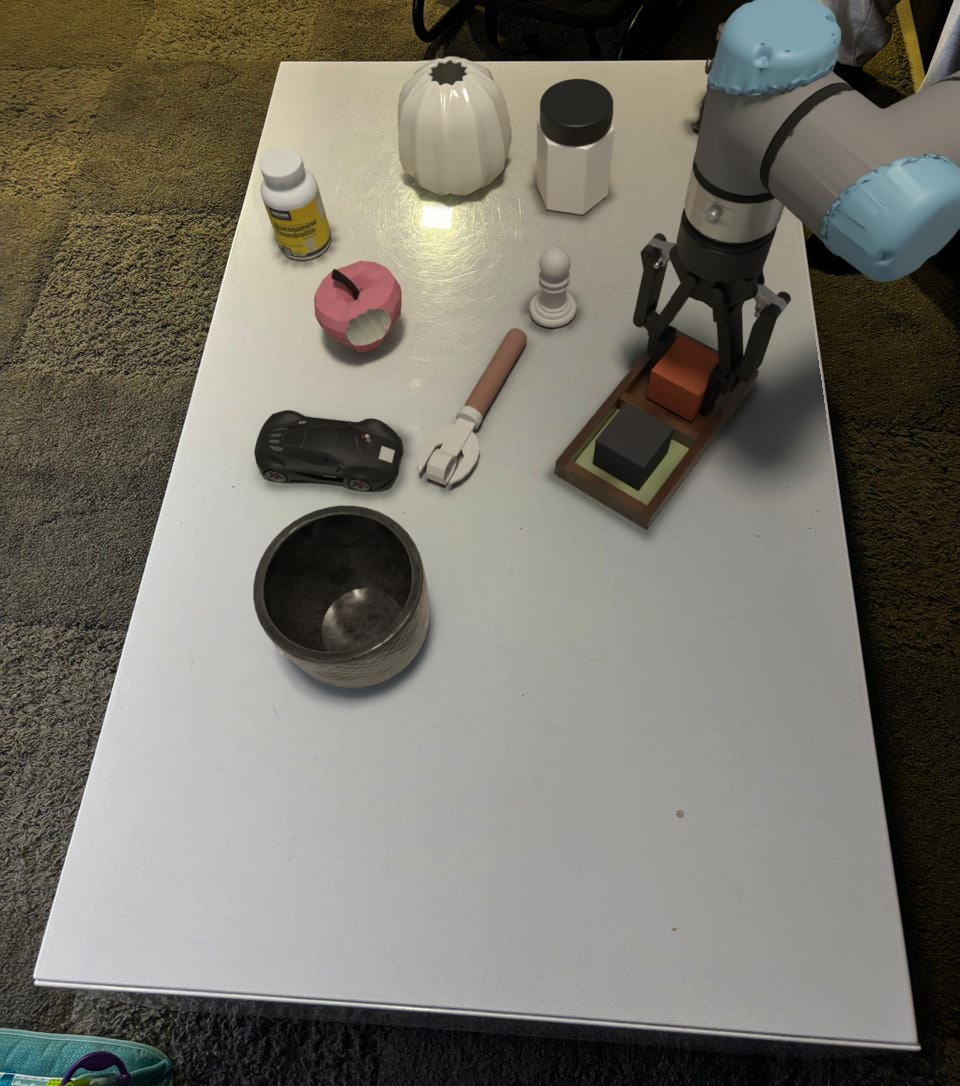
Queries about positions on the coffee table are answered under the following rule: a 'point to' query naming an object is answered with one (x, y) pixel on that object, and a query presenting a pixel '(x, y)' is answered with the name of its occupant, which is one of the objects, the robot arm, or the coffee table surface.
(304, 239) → the pill bottle
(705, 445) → the frame
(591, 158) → the jar
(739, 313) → the robot arm
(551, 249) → the chess piece
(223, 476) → the coffee table surface
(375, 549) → the planter
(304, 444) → the toy car
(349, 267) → the apple
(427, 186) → the vase
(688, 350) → the orange block
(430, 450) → the pizza cutter
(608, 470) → the black cube
